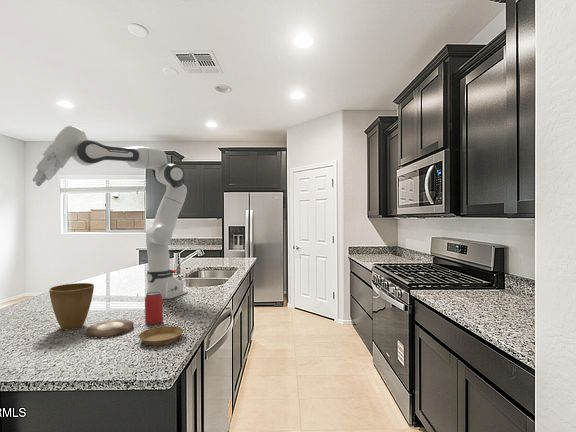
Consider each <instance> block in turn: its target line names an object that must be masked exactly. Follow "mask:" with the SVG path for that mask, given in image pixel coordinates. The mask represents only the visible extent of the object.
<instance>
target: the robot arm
mask: <svg viewBox="0 0 576 432" xmlns="http://www.w3.org/2000/svg"><path fill="white" fill-rule="evenodd" d="M54 138H55V139H54V141H53V142H52V143H50V144H49V146H48V147H47V148H46V149H45V151H44V152H43V153H42V156H44V157H42V159H41V160H40V161H39V162H38V163H37V165H36V170H37V171H36V173H35V175H34V177H33V178H32V182H34V183H35V185H36V186H37V187H41V186H42V184H43V183H45V182H46V181H50V180H52V178H53V177H54V176H55V175H56V174H57V173H58V172H59V171H60V169H63V168H64V167H65V166H66V164H67V163H68V162H69V160H70V159H71V158H72V159H73V160H74V161H76V163H78V164H80V165H81V166H91V165H94V164H97V163H100V162H102V161H115V162H124V163H126V164H128V166H129V167H131V168H135V169H142V170H143V169H146V170H147V169H148V170H151V171H152V173H153V178H154V180H155V181H156V183H159V184H160V185H165V187H166V190H165V193H164V195H163V197H162V199H161V201H160V203H159V206H158V208H157V211H156V214H155V217H154V221H153V223H152V224H151V225H149V226H148V227H147V229H146V231H145V242H146V252H147V273H146V279H147V285H146V286H147V287H146V293H145V297H146V294H147V293H149V292H161V295H162V300H164V299H165V300H166V299H167V300H168V299H169V300H170V299H173V298H177V297H179V296H182V295H185V294H187V293H189V292H188V290H187V289H184V284H183V282H182V281H181V280H180V279H178V278H177V277H175V276H174V275H173V274H176V273H177V270H176V269H171V260H170V259H171V258H170V257H171V255H170V249H169V242H170V241H171V240H172V237H173V233H174V231H175V227H176V223H177V220H178V217H179V216H180V213H181V211H182V208H183V206H184V203H185V201H186V197H187V193H188V188H187V186H186V185H185V184H184V183H185V170H184V168H183V167H182V166H181V165H179V164H176V163H169V162H168V158H167V157H168V156H167V154H166V152H165V151H164V150H161V149H159V148H155V147H147V146H129V147H120V146H110V145H109V146H108V145H104V144H103V143H100V142H98V141H95V140H94V139H93V140H91V139H89V138H88V136H87V134H86V132H85V131H84V130H82V129H81V128H79V127H77V126H74V125H67V126H65V127H64V128H63V129H61V130H60V132H59V133H58V134H57V135H56V136H55V137H54ZM145 297H144V298H145Z"/></svg>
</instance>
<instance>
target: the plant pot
mask: <svg viewBox="0 0 576 432" xmlns="http://www.w3.org/2000/svg"><path fill="white" fill-rule="evenodd" d="M94 289H95V284H94V283H91V282H79V283H77V282H75V283H67V284H60V285H55V286H52V287H50V288H48V290H49V296H50V301H51V303H50V304H51V307H52V310H53V313H54V316H55V318H56V321H57V324H58V325H59V328H60V329H61V330H64V331H69V330H71V329H72V330H76V328H77V329H79V328H82V327H83V326H84V325H85V323H86V322H85V321H86V319H87V317H88V314H89V311H90V308H91V303H92V299H93V294H94Z"/></svg>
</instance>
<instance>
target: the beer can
mask: <svg viewBox="0 0 576 432" xmlns="http://www.w3.org/2000/svg"><path fill="white" fill-rule="evenodd" d="M145 296H146V297H144V311H145V312H144V318H145V319H144V321H145V322H144V324H146V325H149V326H154V325H158V324H161V323H162V322H163V320H164V317H163V316H164V315H163V313H164V312H163V311H164V310H163V308H164V307H163V299H162V295H161V292H149V293H147V294H146V293H145Z"/></svg>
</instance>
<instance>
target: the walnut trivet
mask: <svg viewBox="0 0 576 432" xmlns="http://www.w3.org/2000/svg"><path fill="white" fill-rule="evenodd" d="M134 326H135V325H134V321H132V320H129V319H113V320H112V319H111V320H106V321H101V322H98V323H94V324H92V325H90V326H88V327H87V328H86V330H85V336H86V335H87V336H86V337H88V338H91V337H97V338H96V339H102V338H101V337H107V338H111V336H113V337H117V336H116V335H118V336H120V335H123V334H127V333H129V332H130V331H132V330H133V329H134V328H135V327H134ZM99 337H100V338H99Z"/></svg>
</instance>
